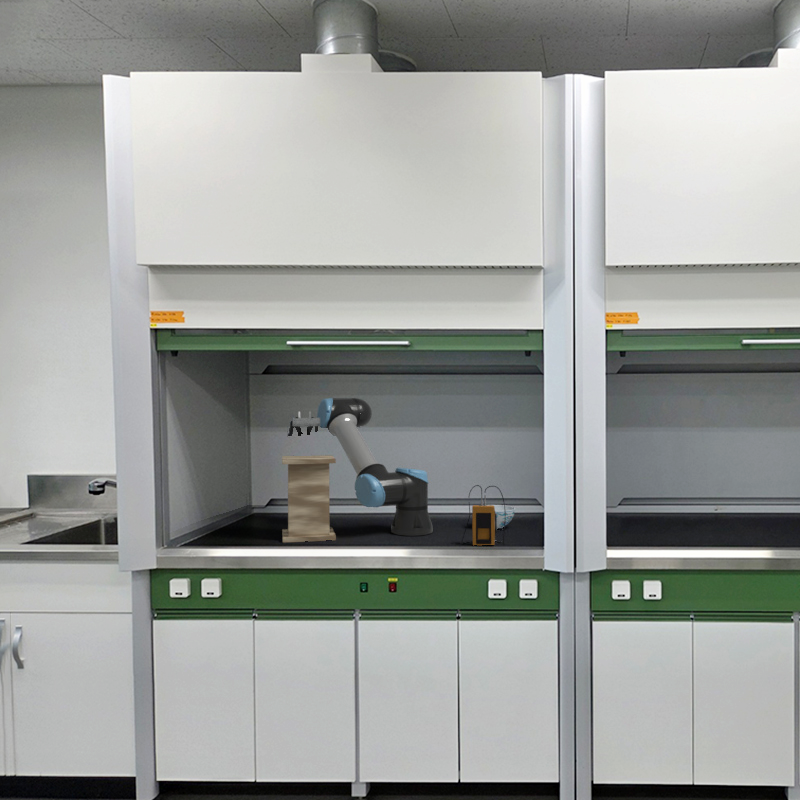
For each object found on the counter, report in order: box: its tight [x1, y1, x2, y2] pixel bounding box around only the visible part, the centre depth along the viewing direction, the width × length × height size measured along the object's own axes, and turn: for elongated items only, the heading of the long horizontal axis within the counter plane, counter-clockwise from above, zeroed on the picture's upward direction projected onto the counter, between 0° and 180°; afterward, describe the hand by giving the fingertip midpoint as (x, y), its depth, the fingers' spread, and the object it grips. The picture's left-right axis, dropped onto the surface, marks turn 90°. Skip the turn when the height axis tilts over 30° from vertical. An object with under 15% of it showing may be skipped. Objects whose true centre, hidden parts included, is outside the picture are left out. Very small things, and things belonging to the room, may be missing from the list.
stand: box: [281, 454, 337, 543], centre depth 236 cm, size 16×18×28 cm
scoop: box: [292, 417, 320, 427], centre depth 260 cm, size 27×10×3 cm, turn 10°
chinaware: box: [492, 504, 516, 529], centre depth 250 cm, size 15×15×8 cm
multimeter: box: [460, 484, 506, 546], centre depth 225 cm, size 15×10×20 cm
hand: (304, 414), depth 264 cm, fingers closed on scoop, 3 cm apart
